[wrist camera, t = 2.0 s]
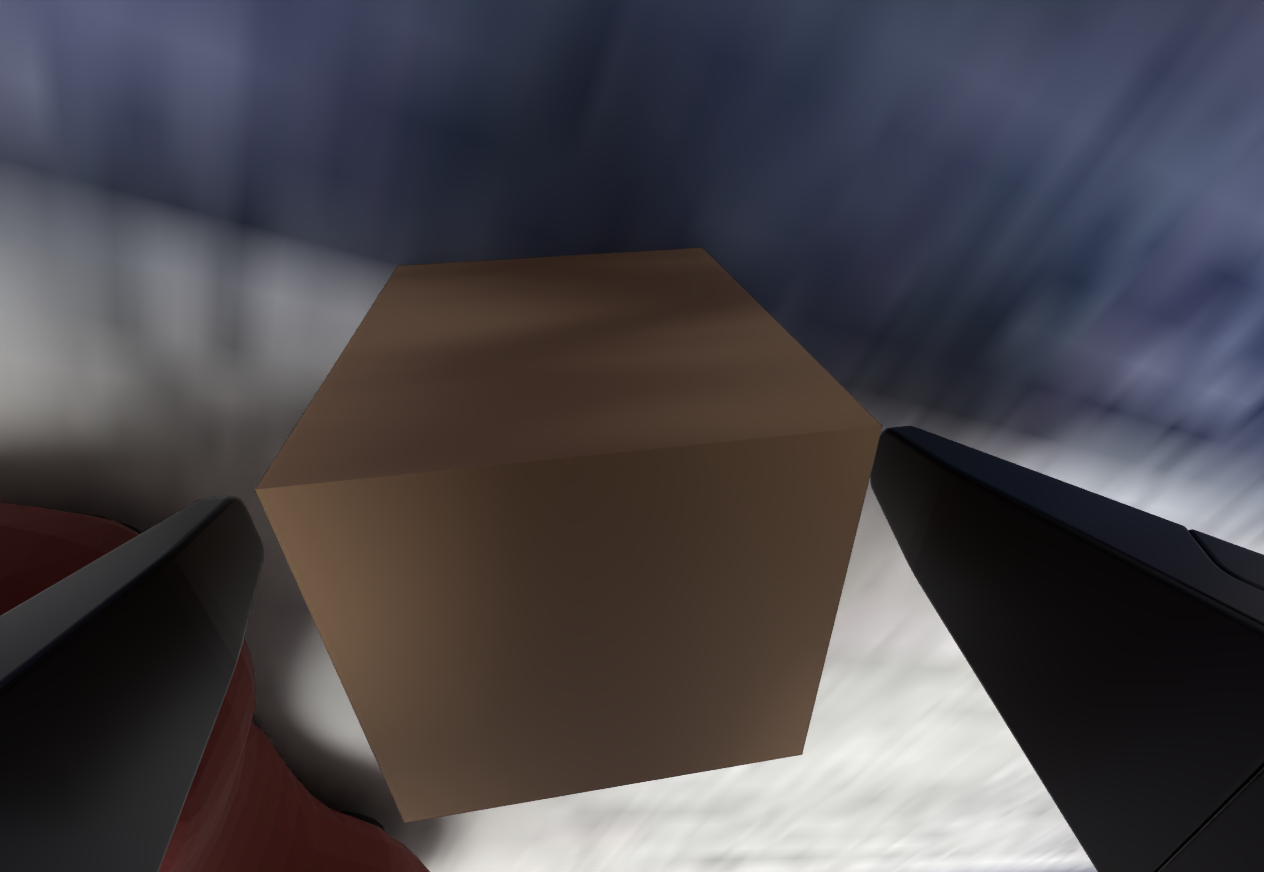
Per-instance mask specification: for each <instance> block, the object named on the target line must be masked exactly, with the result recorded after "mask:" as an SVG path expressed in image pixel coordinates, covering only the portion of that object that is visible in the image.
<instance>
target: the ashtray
mask: <svg viewBox="0 0 1264 872" xmlns="http://www.w3.org/2000/svg"><path fill="white" fill-rule="evenodd" d="M141 533H143V532H141V531H139V530H138V529H136V528H134V527H133V526H130V525H127V524H124V523H121V522H118V521H115V520H112V519H109V518H106V517H103V516H96V515H88V514H81V513H73V512H65V511H59V510H53V509H47V508H41V507H35V506H26V505H17V504H9V503H0V616H1V615H3V614H5V613H6V612H8V611H10V610H11V609H13V608H15V607H16V606H18V605H20V604H22V603H23V602H25V601H27V600H28V599H30V598H32V597H34V596H35V595H37V594H39V593H40V592H42V591H44V590H46V589H47V588H49V587H51V586H52V585H54V584H56V583H58V582H59V581H61V580H63V579H64V578H66V577H68V576H70V575H71V574H73V573H75V572H76V571H78V570H80V569H82V568H83V567H85V566H87V565H88V564H90V563H92V562H93V561H95V560H97V559H99V558H100V557H102V556H104V555H105V554H107V553H109V552H111V551H112V550H114V549H116V548H117V547H119V546H121V545H123V544H124V543H126V542H128V541H129V540H131V539H133V538H135V537H136V536H138V535H140V534H141ZM254 710H255V689H254V671H253V666H252V661H251V657H250V652H249V648H248V646H247V644H246V641H245V639H244V640H243V644H242V647H241V651H240V654H239V658H238V661H237V664H236V667H235V670H234V673H233V676H232V679H231V682H230V684H229V687H228V689H227V692H226V695H225V697H224V700H223V703H222V705H221V708H220V711H219V713H218V716H217V718H216V721H215V724H214V726H213V729H212V732H211V734H210V737H209V740H208V742H207V745H206V747H205V750H204V753H203V755H202V758H201V761H200V763H199V766H198V769H197V771H196V774H195V776H194V779H193V782H192V784H191V787H190V790H189V792H188V795H187V798H186V800H185V803H184V805H183V808H182V811H181V813H180V816H179V819H178V821H177V824H176V827H175V829H174V832H173V834H172V837H171V840H170V842H169V845H168V848H167V850H166V853H165V856H164V858H163V861H162V863H161V866H160V869H159V871H158V872H430V871H429V870H428V869H427V868H426V867H425V866H424V864H423V863H422V862H421V861H420V860H419V859H418V858H417V856H416V855H414V854H413V853H412V852H411V851H410V850H409V849H408V848H407V847H406V846H404V845H403V844H402V843H400V842H399V841H397V840H395V839H393V838H392V837H391V836H389V835H388V834H387V833H386V832H385V831H384V828H383V826H382V825H380V824H379V823H378V822H377V821H376V820H374V819H372V818H369V817H367V816H364V815H362V814H357V813H351V812H341V811H335V810H332V809H330V808H328V807H327V806H326V805H324V804H323V803H322V802H320V801H319V800H318V799H317V798H315V797H314V796H313V795H311V794H310V793H309V792H308V791H307V789H306V788H305V787H304V786H303V785H302V784H301V782H300V781H299V780H298V779H297V778H296V777H295V775H294V774H293V773H292V772H291V770H290V769H289V768H288V766H287V765H286V764H285V762H284V761H283V760H282V758H281V757H280V755H279V754H278V752H277V751H276V749H275V748H274V746H273V744H272V743H271V741H270V740H269V738H268V737H267V735H266V733H265V732H264V731H263V730H262V729H261V728H260V727H258V726H257V725H256V724H255V723H254V722H253V721H252V718H253V714H254Z"/></svg>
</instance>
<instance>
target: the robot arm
mask: <svg viewBox="0 0 1264 872" xmlns="http://www.w3.org/2000/svg"><path fill="white" fill-rule="evenodd" d="M870 481H871V486H872V489H873V492H874V494H875V496H876V498H877V500H878V502H879V504H880V506H881V508H882V511H883V513H884V515H885V517H886V519H887V521H888V523H889V525H890V527H891V529H892V531H893V533H894V536H895V538H896V540H897V542H898V544H899V546H900V548H901V550H902V552H903V554H904V556H905V559H906V560H907V562H908V564H909V566H910V568H911V570H912V572H913V574H914V575H915V577H916V579H917V581H918V582H919V584H920V586H921V587H922V589H923V591H924V592H925V594H926V595H927V597H928V599H929V600H930V602H931V603H932V605H933V607H934V608H935V610H936V612H937V613H938V615H939V616H940V618H941V620H942V621H943V623H944V624H945V626H946V628H947V629H948V631H949V633H950V634H951V636H952V637H953V639H954V641H955V642H956V644H957V645H958V647H959V649H960V650H961V652H962V653H963V655H964V657H965V658H966V660H967V662H968V663H969V665H970V666H971V668H972V670H973V671H974V673H975V674H976V676H977V678H978V679H979V681H980V683H981V684H982V686H983V687H984V689H985V691H986V692H987V694H988V695H989V697H990V699H991V700H992V702H993V704H994V705H995V707H996V708H997V710H998V712H999V713H1000V715H1001V716H1002V718H1003V720H1004V721H1005V723H1006V725H1007V726H1008V728H1009V729H1010V731H1011V733H1012V734H1013V736H1014V737H1015V739H1016V741H1017V742H1018V744H1019V745H1020V747H1021V749H1022V750H1023V752H1024V754H1025V755H1026V757H1027V758H1028V760H1029V762H1030V763H1031V765H1032V766H1033V768H1034V770H1035V771H1036V773H1037V775H1038V776H1039V778H1040V779H1041V781H1042V783H1043V784H1044V786H1045V787H1046V789H1047V791H1048V792H1049V794H1050V796H1051V797H1052V799H1053V800H1054V802H1055V804H1056V805H1057V807H1058V808H1059V810H1060V812H1061V813H1062V815H1063V817H1064V818H1065V820H1066V821H1067V823H1068V825H1069V826H1070V828H1071V829H1072V831H1073V833H1074V834H1075V836H1076V837H1077V839H1078V841H1079V842H1080V844H1081V846H1082V847H1083V849H1084V850H1085V852H1086V854H1087V855H1088V857H1089V858H1090V860H1091V862H1092V863H1093V865H1094V867H1095V868H1096V870H1097V871H1098V872H1264V555H1262V554H1260V553H1257V552H1254V551H1251V550H1248V549H1246V548H1243V547H1240V546H1237V545H1234V544H1232V543H1229V542H1226V541H1223V540H1221V539H1218V538H1215V537H1213V536H1210V535H1207V534H1204V533H1202V532H1199V531H1196V530H1187V528H1186V527H1184V526H1182V525H1180V524H1177V523H1174V522H1172V521H1169V520H1166V519H1163V518H1161V517H1158V516H1155V515H1153V514H1150V513H1147V512H1144V511H1142V510H1139V509H1136V508H1134V507H1131V506H1128V505H1125V504H1123V503H1120V502H1117V501H1115V500H1112V499H1109V498H1106V497H1104V496H1101V495H1098V494H1096V493H1093V492H1090V491H1087V490H1085V489H1082V488H1079V487H1077V486H1074V485H1071V484H1068V483H1066V482H1063V481H1060V480H1058V479H1055V478H1052V477H1049V476H1047V475H1044V474H1041V473H1039V472H1036V471H1033V470H1030V469H1028V468H1025V467H1022V466H1020V465H1017V464H1014V463H1011V462H1009V461H1006V460H1003V459H1001V458H998V457H995V456H992V455H990V454H987V453H984V452H982V451H979V450H976V449H973V448H971V447H968V446H965V445H963V444H960V443H957V442H954V441H952V440H949V439H946V438H944V437H941V436H938V435H935V434H933V433H930V432H927V431H924V430H922V429H919V428H916V427H913V426H902V427H893V428H887V429H885V430H884V431H882V433H881V434H880V437H879V441H878V445H877V449H876V454H875V458H874V462H873V466H872V470H871V474H870ZM263 559H264V547H263V543H262V540H261V538H260V536H259V534H258V532H257V529H256V527H255V525H254V523H253V521H252V519H251V517H250V515H249V512H248V510H247V508H246V506H245V504H244V503H243V501H242V500H241V499H240V498H238V497H236V496H221V497H211V498H204V499H200V500H198V501H196V502H194V503H193V504H191V505H189V506H188V507H186V508H184V509H182V510H181V511H179V512H177V513H176V514H174V515H172V516H170V517H169V518H167V519H165V520H164V521H162V522H160V523H159V524H157V525H155V526H153V527H152V528H150V529H148V530H147V531H145V532H143V533H141V534H140V535H138V536H136V537H135V538H133V539H131V540H129V541H128V542H126V543H124V544H123V545H121V546H119V547H117V548H116V549H114V550H112V551H111V552H109V553H107V554H105V555H104V556H102V557H100V558H99V559H97V560H95V561H93V562H92V563H90V564H88V565H87V566H85V567H83V568H82V569H80V570H78V571H76V572H75V573H73V574H71V575H70V576H68V577H66V578H64V579H63V580H61V581H59V582H58V583H56V584H54V585H52V586H51V587H49V588H47V589H46V590H44V591H42V592H40V593H39V594H37V595H35V596H34V597H32V598H30V599H28V600H27V601H25V602H23V603H22V604H20V605H18V606H16V607H15V608H13V609H11V610H10V611H8V612H6V613H5V614H3V615H1V616H0V872H158V871H159V869H160V866H161V863H162V861H163V858H164V856H165V853H166V850H167V848H168V845H169V842H170V840H171V837H172V834H173V832H174V829H175V827H176V824H177V821H178V819H179V816H180V813H181V811H182V808H183V805H184V803H185V800H186V798H187V795H188V792H189V790H190V787H191V784H192V782H193V779H194V776H195V774H196V771H197V769H198V766H199V763H200V761H201V758H202V755H203V753H204V750H205V747H206V745H207V742H208V740H209V737H210V734H211V732H212V729H213V726H214V724H215V721H216V718H217V716H218V713H219V711H220V708H221V705H222V703H223V700H224V697H225V695H226V692H227V689H228V687H229V684H230V682H231V679H232V676H233V673H234V670H235V667H236V664H237V661H238V658H239V654H240V651H241V647H242V644H243V640H244V636H245V632H246V628H247V624H248V620H249V616H250V612H251V608H252V604H253V600H254V596H255V592H256V588H257V584H258V580H259V576H260V572H261V568H262V564H263Z"/></svg>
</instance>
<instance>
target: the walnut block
mask: <svg viewBox="0 0 1264 872" xmlns="http://www.w3.org/2000/svg"><path fill="white" fill-rule="evenodd" d="M881 429H882V425H881V424H880V423H879V422H878V421H877V420H876V419H875V418H874V417H873V416H872V415H871V414H870V413H869V412H868V411H867V410H866V409H865V408H864V407H863V406H862V405H861V404H860V403H859V402H858V401H857V400H856V399H855V398H854V397H853V396H852V395H851V394H850V393H849V392H848V391H847V390H846V389H845V388H844V387H843V386H842V385H841V384H840V383H839V382H838V381H837V380H836V379H835V378H834V377H833V376H832V375H831V374H830V373H829V372H828V371H827V370H826V369H824V368H823V367H822V366H821V365H820V364H819V363H818V362H817V361H816V360H815V359H814V358H813V357H812V356H811V355H810V354H809V353H808V352H807V351H806V350H805V349H804V348H803V347H802V346H801V345H800V344H799V343H798V342H797V341H796V340H795V339H794V338H793V337H792V336H791V335H790V334H789V333H788V332H787V331H786V330H785V329H784V328H783V327H782V326H781V325H780V324H779V323H778V322H777V321H776V320H775V319H774V318H773V317H772V316H771V315H770V314H769V313H768V312H767V311H766V310H765V309H764V308H763V307H762V306H761V305H760V304H759V303H758V302H757V301H756V300H755V299H754V298H753V297H752V296H751V295H750V294H749V293H748V292H747V291H746V290H745V289H744V288H743V287H742V286H741V285H740V284H739V283H738V282H737V281H736V280H735V279H734V278H733V277H732V276H731V275H730V274H729V273H728V272H727V271H726V270H725V269H724V268H723V267H722V266H721V265H720V264H719V263H718V262H717V261H716V260H715V259H714V258H713V257H712V256H711V255H710V254H709V253H708V252H707V251H706V250H704V249H703V248H687V249H670V250H653V251H637V252H620V253H603V254H586V255H570V256H553V257H536V258H519V259H503V260H486V261H469V262H452V263H436V264H419V265H402V266H397V267H396V269H395V271H394V272H393V274H392V275H391V277H390V278H389V280H388V282H387V283H386V285H385V286H384V288H383V289H382V291H381V293H380V294H379V296H378V297H377V299H376V300H375V302H374V304H373V305H372V307H371V308H370V310H369V311H368V313H367V315H366V316H365V318H364V319H363V321H362V322H361V324H360V325H359V327H358V329H357V330H356V332H355V333H354V335H353V336H352V338H351V340H350V341H349V343H348V344H347V346H346V347H345V349H344V351H343V352H342V354H341V355H340V357H339V358H338V360H337V362H336V363H335V365H334V366H333V368H332V369H331V371H330V373H329V374H328V376H327V377H326V379H325V380H324V382H323V384H322V385H321V387H320V388H319V390H318V391H317V393H316V395H315V396H314V398H313V399H312V401H311V402H310V404H309V406H308V407H307V409H306V410H305V412H304V413H303V415H302V417H301V418H300V420H299V421H298V423H297V424H296V426H295V428H294V429H293V431H292V432H291V434H290V435H289V437H288V438H287V440H286V442H285V443H284V445H283V446H282V448H281V449H280V451H279V453H278V454H277V456H276V457H275V459H274V460H273V462H272V464H271V465H270V467H269V468H268V470H267V471H266V473H265V475H264V476H263V478H262V479H261V481H260V482H259V484H258V486H257V487H256V489H255V491H256V493H257V495H258V497H259V500H260V502H261V504H262V506H263V509H264V511H265V513H266V515H267V518H268V520H269V522H270V524H271V526H272V529H273V531H274V533H275V535H276V538H277V540H278V542H279V544H280V547H281V549H282V551H283V553H284V555H285V558H286V560H287V562H288V564H289V567H290V569H291V571H292V573H293V576H294V578H295V580H296V582H297V584H298V587H299V589H300V591H301V593H302V596H303V598H304V600H305V602H306V605H307V607H308V609H309V611H310V613H311V616H312V618H313V620H314V622H315V625H316V627H317V629H318V631H319V634H320V636H321V638H322V640H323V642H324V645H325V647H326V649H327V651H328V654H329V656H330V658H331V660H332V663H333V665H334V667H335V669H336V671H337V674H338V676H339V678H340V680H341V683H342V685H343V687H344V689H345V692H346V694H347V696H348V698H349V700H350V703H351V705H352V707H353V709H354V712H355V714H356V716H357V718H358V721H359V723H360V725H361V727H362V729H363V732H364V734H365V736H366V738H367V741H368V743H369V745H370V747H371V750H372V752H373V754H374V756H375V758H376V761H377V763H378V765H379V767H380V770H381V772H382V774H383V776H384V779H385V781H386V783H387V785H388V787H389V790H390V792H391V794H392V796H393V799H394V801H395V803H396V805H397V807H398V810H399V812H400V814H401V816H402V819H403V821H404V823H407V822H413V821H419V820H425V819H431V818H437V817H442V816H448V815H454V814H460V813H466V812H471V811H477V810H483V809H489V808H495V807H500V806H506V805H512V804H518V803H524V802H530V801H535V800H541V799H547V798H553V797H559V796H564V795H570V794H576V793H582V792H588V791H593V790H599V789H605V788H611V787H617V786H623V785H628V784H634V783H640V782H646V781H652V780H657V779H663V778H669V777H675V776H681V775H686V774H692V773H698V772H704V771H710V770H716V769H721V768H727V767H733V766H739V765H745V764H750V763H756V762H762V761H768V760H774V759H779V758H785V757H791V756H797V755H802V753H803V749H804V745H805V740H806V736H807V732H808V728H809V724H810V720H811V716H812V712H813V708H814V704H815V699H816V695H817V691H818V687H819V683H820V679H821V675H822V671H823V667H824V663H825V658H826V654H827V650H828V646H829V642H830V638H831V634H832V630H833V626H834V622H835V617H836V613H837V609H838V605H839V601H840V597H841V593H842V589H843V585H844V581H845V577H846V572H847V568H848V564H849V560H850V556H851V552H852V548H853V544H854V540H855V536H856V531H857V527H858V523H859V519H860V515H861V511H862V507H863V503H864V499H865V495H866V490H867V486H868V482H869V478H870V474H871V470H872V466H873V462H874V458H875V454H876V449H877V445H878V441H879V437H880V433H881Z"/></svg>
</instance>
